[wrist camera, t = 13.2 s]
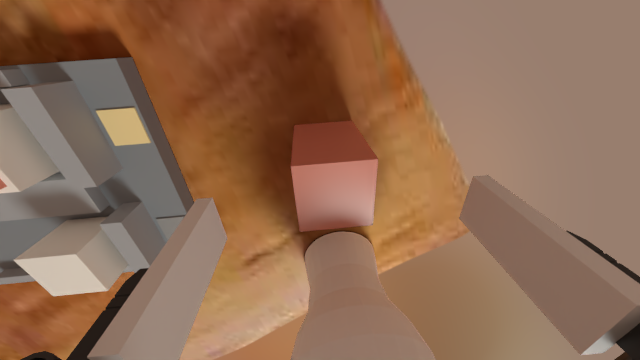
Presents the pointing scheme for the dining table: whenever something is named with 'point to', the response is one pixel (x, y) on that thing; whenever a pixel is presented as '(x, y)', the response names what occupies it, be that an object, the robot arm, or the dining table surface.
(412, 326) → the cup
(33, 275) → the block
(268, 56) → the dining table surface
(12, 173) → the block
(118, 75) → the panel
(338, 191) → the cap
